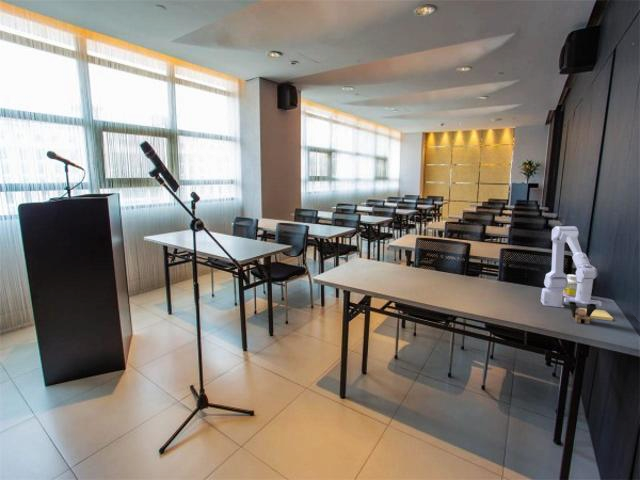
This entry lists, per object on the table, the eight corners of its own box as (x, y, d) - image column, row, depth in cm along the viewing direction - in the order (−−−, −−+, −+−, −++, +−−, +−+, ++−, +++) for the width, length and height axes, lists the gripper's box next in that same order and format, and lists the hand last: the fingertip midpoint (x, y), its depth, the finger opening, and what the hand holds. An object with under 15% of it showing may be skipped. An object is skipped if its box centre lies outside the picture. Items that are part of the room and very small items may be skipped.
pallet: (576, 322, 163) (577, 316, 163) (571, 316, 170) (572, 310, 170) (589, 324, 161) (589, 318, 161) (583, 317, 169) (584, 311, 168)
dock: (585, 317, 169) (585, 314, 168) (578, 310, 178) (579, 307, 178) (612, 320, 165) (613, 317, 164) (604, 313, 174) (604, 310, 174)
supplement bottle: (561, 293, 203) (563, 273, 201) (574, 295, 200) (577, 274, 198) (564, 297, 197) (567, 276, 194) (578, 298, 194) (581, 277, 192)
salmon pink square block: (578, 314, 165) (578, 310, 164) (576, 312, 167) (576, 308, 167) (585, 315, 163) (586, 311, 163) (583, 313, 166) (583, 309, 166)
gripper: (568, 292, 162) (565, 318, 165) (605, 295, 157) (601, 322, 159) (564, 287, 169) (560, 313, 171) (599, 290, 163) (596, 317, 166)
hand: (580, 317), depth 166 cm, fingers closed on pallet, 5 cm apart
